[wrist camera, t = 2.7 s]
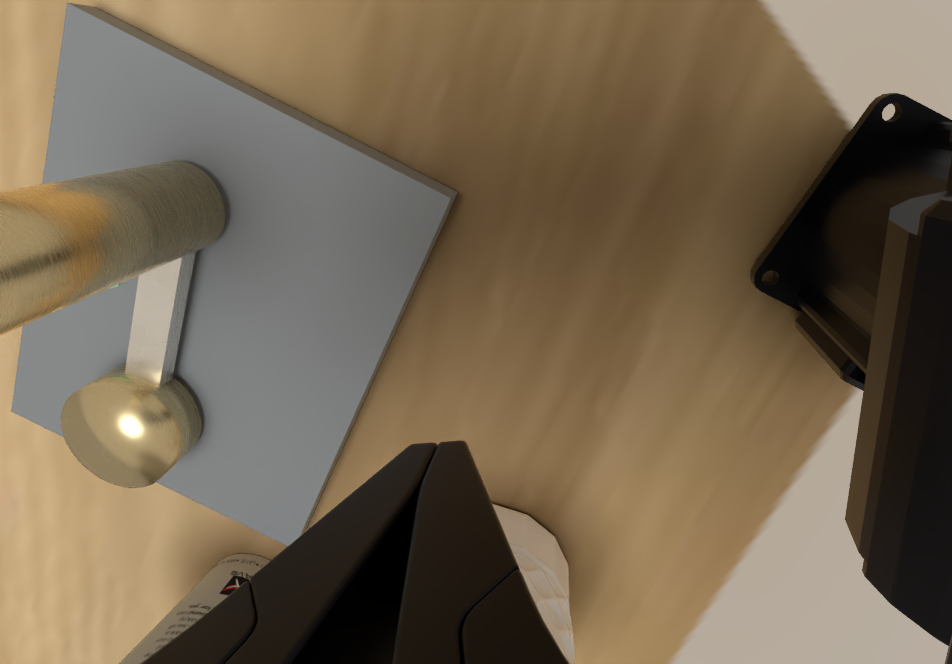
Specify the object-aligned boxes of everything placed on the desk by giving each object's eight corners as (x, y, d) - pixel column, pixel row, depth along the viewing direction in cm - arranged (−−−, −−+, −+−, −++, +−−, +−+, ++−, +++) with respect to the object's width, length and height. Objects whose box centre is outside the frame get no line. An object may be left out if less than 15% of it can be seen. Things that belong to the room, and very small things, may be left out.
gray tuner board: (95, 7, 20) (64, 2, 19) (457, 192, 20) (450, 199, 19) (34, 397, 27) (9, 412, 26) (305, 530, 27) (292, 551, 26)
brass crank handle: (191, 473, 25) (-176, 839, 13) (94, 432, 25) (-363, 759, 13) (255, 180, 20) (-266, 334, 8) (132, 128, 20) (-585, 198, 8)
